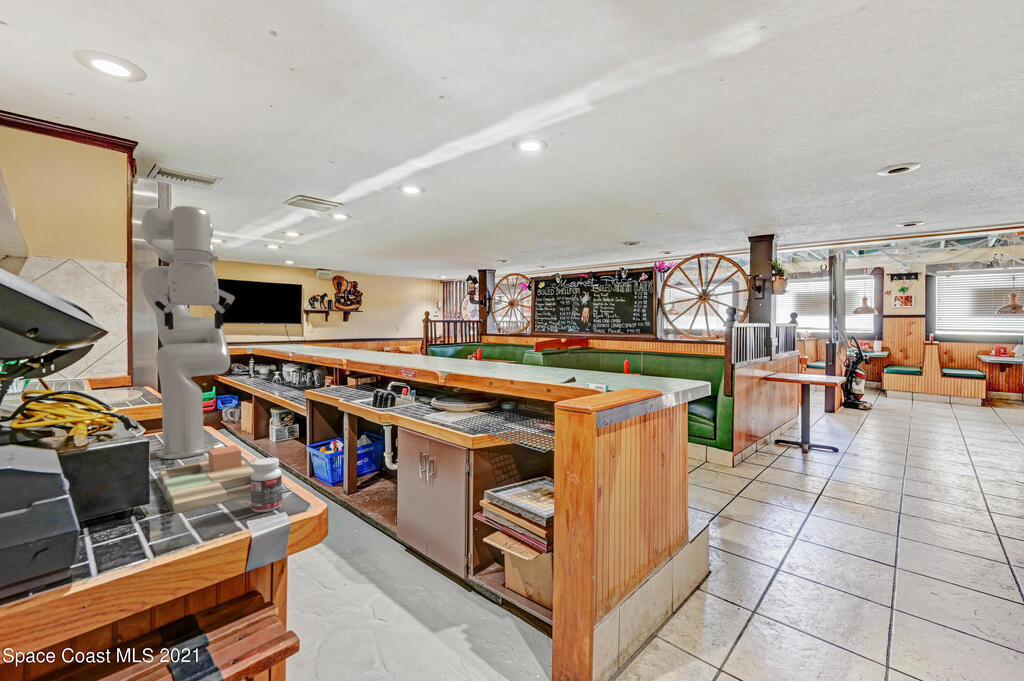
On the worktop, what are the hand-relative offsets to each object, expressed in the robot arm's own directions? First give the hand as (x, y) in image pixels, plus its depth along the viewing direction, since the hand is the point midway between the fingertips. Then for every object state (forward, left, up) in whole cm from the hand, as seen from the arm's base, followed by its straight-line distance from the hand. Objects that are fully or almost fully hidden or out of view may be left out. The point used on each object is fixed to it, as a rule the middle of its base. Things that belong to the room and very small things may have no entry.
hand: (194, 329), depth 111 cm
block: (+3, +5, -35) cm, 35 cm away
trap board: (+9, 0, -37) cm, 38 cm away
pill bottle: (+32, +7, -37) cm, 49 cm away
